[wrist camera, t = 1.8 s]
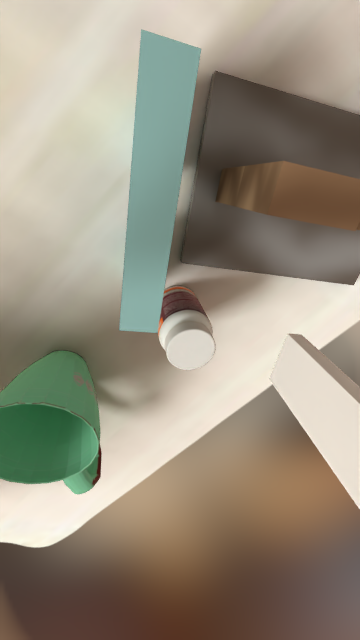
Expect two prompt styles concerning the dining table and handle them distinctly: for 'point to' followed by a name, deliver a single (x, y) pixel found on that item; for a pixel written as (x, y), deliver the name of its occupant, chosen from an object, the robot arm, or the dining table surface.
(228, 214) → the slotted stand
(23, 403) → the mug
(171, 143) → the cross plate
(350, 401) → the robot arm
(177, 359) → the pill bottle
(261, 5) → the dining table surface
